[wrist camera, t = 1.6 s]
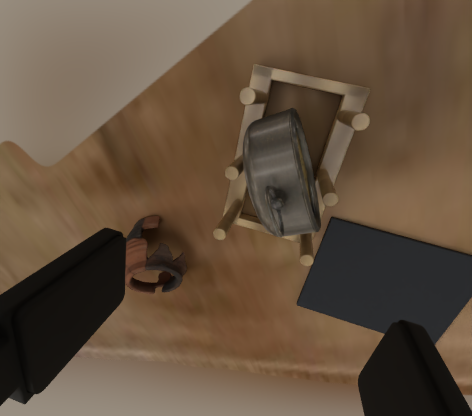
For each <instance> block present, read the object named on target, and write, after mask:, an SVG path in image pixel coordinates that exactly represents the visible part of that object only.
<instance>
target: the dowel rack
mask: <svg viewBox="0 0 472 416" xmlns="http://www.w3.org/2000/svg"><path fill="white" fill-rule="evenodd" d="M273 81H277V82H282V83H287V84H291V85H296V86H300V87H305V88H310V89H314V90H319V91H324V92H328V93H333V94H337V95H342V99H341V102H340V105H339V108H338V111H337V113H336V116H335V119H334V122H333V125H332V128H331V131H330V134H329V137H328V139H327V142H326V145H325V148H324V151H323V154H322V157H321V160H320V162H319V165H318V168H317V171H316V174H315V177H314V179H315V185H316V190H317V196H318V203H319V211H320V219H321V217H322V214H323V211H324V209H325V206H329V207H331V206H334V205H336V204H337V203H338V196H337V193H336V191H335V188H334V186H333V185H334V183H335V180H336V178H337V175H338V172H339V170H340V167H341V165H342V162H343V159H344V157H345V154H346V152H347V149H348V146H349V144H350V141H351V139H352V136H353V133H354V131H355V130H357V131H362V130H364V129H366V128H367V127H368V125H369V123H370V118H369V116H368V115H367V114H366V113H362V110H363V107H364V105H365V102H366V100H367V97H368V94H369V92H370V88H366V87H362V86H357V85H352V84H347V83H342V82H338V81H333V80H328V79H323V78H319V77H314V76H309V75H304V74H300V73H295V72H290V71H285V70H280V69H276V68H271V67H266V66H261V65H257V64H254V67H253V71H252V76H251V81H250V86H249V87H246V88H244V89H242V90H241V92H240V101H241V102H242V103H243V104H245V105H246V106H245V111H244V116H243V121H242V126H241V131H240V135H239V140H238V145H237V150H236V155H235V160H234V162H233V163H232V164H231V165H230V166H228V167H227V168H226V170H225V175H226V177H227V178H228V179H229V180H230V185H229V190H228V195H227V199H226V204H225V209H224V214H223V218H222V220H221V221H220V223H219V224H218V226H217V227H216V229H215V230H214V232H213V235H214V237H215V238H216V239H218V240H223V239H224V238H225V237H226V235H227V233H228V231H229V229H230V228H231V226H232V224H237V225H240V226H244V227H247V228H251V229H254V230H258V231H261V232H264V233H268V234H270V233H269V232H268V231H267V230H266V229H265V228H264V226H263V225H262V223H261V222H260V220H259V218H257V217H253V216H250V215H246V214H243V213H242V209H243V205H244V200H245V196H246V192H247V184H246V179H245V173H244V167H243V140H244V135H245V132H246V130H247V128H248V126H249V125H250V124H251V123H252V122H253V121H255V120H258V119H261V118H264V115H265V111H266V107H267V103H268V98H269V94H270V90H271V86H272V82H273ZM271 235H272V234H271ZM314 235H315V232H312V233H305V234H298V235H292V236H284V237H281V238H285V239H288V240H292V241H295V242H298V243H300V263H301V264H302V265H304V266H310V265H312V264H313V262H314V257H313V246H312V240H313V237H314Z"/></svg>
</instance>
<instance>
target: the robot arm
mask: <svg viewBox="0 0 472 416" xmlns="http://www.w3.org/2000/svg"><path fill="white" fill-rule="evenodd" d="M125 268H126V238H124V237H123V234H122V233H121V232H119V231H116V230H113V229H109V228H104V229H102V230H100V231H99V232H97V233H95V234H94V235H92V236H91V237H89V238H88V239H86V240H85V241H83V242H82V243H80V244H78V245H77V246H75V247H74V248H72V249H71V250H69V251H68V252H66V253H64V254H63V255H61V256H60V257H58V258H57V259H55V260H54V261H52V262H51V263H49V264H47V265H46V266H44V267H43V268H41V269H40V270H38V271H37V272H35V273H34V274H32V275H30V276H29V277H27V278H26V279H24V280H23V281H21V282H20V283H18V284H16V285H15V286H13V287H12V288H10V289H9V290H7V291H6V292H4V293H3V294H1V295H0V406H1V405H2V404H3V402H5V401H6V400H7V399H8V398H11V399H13V400H15V401H18V402H20V403H23V404H26V403H27V402H28V401H29V399H30V398H31V397H32V396H33V395H34V394H39V393H41V392H42V391H43V390H44V389H45V388H46V387H47V386H48V385H49V384H50V383H51V381H52V380H53V379H54V378H55V377H56V376H57V374H58V373H59V372H60V371H61V370H62V369H63V368H64V367H65V366H66V364H67V363H68V362H69V361H70V360H71V359H72V358H73V357H74V355H75V354H76V353H77V352H78V351H79V350H80V349H81V348H82V346H83V345H84V344H85V343H86V342H87V341H88V340H89V338H90V337H91V336H92V335H93V334H94V333H95V332H96V331H97V329H98V328H99V327H100V326H101V325H102V324H103V323H104V322H105V320H106V319H107V318H108V317H109V316H110V315H111V314H112V312H113V311H114V310H115V309H116V308H117V307H118V306H119V305H120V303H121V302H122V300H123V298H124V295H125ZM358 387H359V392H360V397H361V401H362V406H363V410H364V415H365V416H472V411H471V409H470V407H469V405H468V404H467V402H466V400H465V398H464V397H463V395H462V393H461V391H460V389H459V388H458V386H457V384H456V382H455V381H454V379H453V377H452V375H451V373H450V372H449V370H448V368H447V366H446V365H445V363H444V361H443V359H442V358H441V356H440V354H439V352H438V350H437V349H436V347H435V345H434V343H433V342H432V340H431V338H430V336H429V334H428V333H427V331H426V329H425V328H424V327H423V326H421V325H419V324H415V323H412V322H409V321H406V320H399V321H398V322H397V323H396V322H393V323H392V324H391V325H390V327H389V328H388V330H387V332H386V333H385V335H384V336H383V338H382V340H381V341H380V343H379V344H378V346H377V347H376V349H375V351H374V352H373V354H372V355H371V357H370V358H369V360H368V362H367V363H366V365H365V366H364V368H363V370H362V371H361V373H360V375H359V378H358Z"/></svg>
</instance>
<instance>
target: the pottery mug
mask: <svg viewBox="0 0 472 416" xmlns="http://www.w3.org/2000/svg"><path fill="white" fill-rule="evenodd" d="M159 220H160V217H159V216H151V217H146V218H143V219H141V220H139V221H138V222H137V223H136V224H135V226H134V228H133V229H132V231H131V232H130V234H129V235H128V237H127V238H126V268H125V284H126V285H127V286H128V287H129V288H130V289H132V290H134V291H137V292H141V293H147V294H154V293H155V288H157V287H163V288H162V292H169V291H172V290H174V289H176V288H177V287H179V286H180V284H181V282H182V276H183V275H184V274H185V273H186V269H187V266H186V263H185V253H184V252H183V253H182V254H181V255H180V256H179V257H178V258H176V259H175V260H173V256H172V254H171V252H170V251H169V247H168V246H167V245H166V244H163V243H160V245H159V248H158V250H156V251H155V253H154V254H153V255H152V256H150V257H149V258H148V257H147V248H148V243H147V241H146V239H142V232H143V230H144V229H149V228H157V227H158V225H159ZM146 270H161V271H165V272H162V273H160V274H159V276H158V277H159V280H158V282H157V283H148V282H142V281H139V280H136V279H134V278H133V276H134V275H135V274H137V273H139V272H142V271H146ZM171 274H173V275H174V276H172V275H171Z"/></svg>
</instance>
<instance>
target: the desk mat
mask: <svg viewBox="0 0 472 416" xmlns="http://www.w3.org/2000/svg"><path fill="white" fill-rule="evenodd" d="M471 297H472V255H468V254H465V253H461V252H458V251H454V250H450V249H447V248H443V247H439V246H436V245H432V244H429V243H425V242H421V241H418V240H414V239H410V238H407V237H403V236H400V235H396V234H392V233H389V232H385V231H381V230H378V229H374V228H371V227H367V226H363V225H360V224H356V223H352V222H349V221H345V220H342V219H338V218H334V217H331V219H330V222H329V224H328V227H327V229H326V232H325V234H324V237H323V239H322V242H321V244H320V247H319V249H318V252H317V254H316V257H315V259H314V262H313V264H312V267H311V269H310V272H309V274H308V276H307V279H306V281H305V284H304V286H303V289H302V291H301V294H300V296H299V299H298V301H297V305H298V306H301V307H304V308H307V309H310V310H313V311H316V312H319V313H323V314H326V315H329V316H332V317H335V318H338V319H341V320H344V321H347V322H350V323H353V324H356V325H360V326H363V327H366V328H369V329H372V330H375V331H378V332H381V333H384V334H385V333H386V332H387V330H388V328H389V327H390V325H391V324H392V323H393V322H396V323H397V322H398V321H399V320H406V321H409V322H412V323H415V324H419V325H421V326H423V327H424V328H425V329H426V331H427V333H428V334H429V336H430V338H431V340H432V342H433V343H434V345H435V344H436V342H437V341H438V340H439V338H440V337H441V336H442V334H443V333H444V332H445V331H446V329H447V328H448V327H449V325H450V324H451V323H452V322H453V320H454V319H455V318H456V316H457V315H458V314H459V313H460V311H461V310H462V309H463V307H464V306H465V305H466V304H467V302H468V301H469V300H470V298H471Z"/></svg>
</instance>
